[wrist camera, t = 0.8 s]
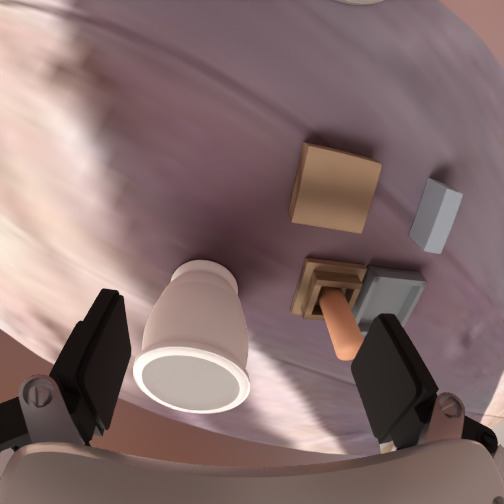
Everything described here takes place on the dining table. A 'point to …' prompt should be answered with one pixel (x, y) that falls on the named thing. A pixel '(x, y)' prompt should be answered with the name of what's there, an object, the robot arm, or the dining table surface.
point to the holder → (325, 275)
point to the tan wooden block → (333, 188)
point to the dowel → (340, 322)
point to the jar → (196, 342)
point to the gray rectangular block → (435, 216)
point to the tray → (387, 295)
